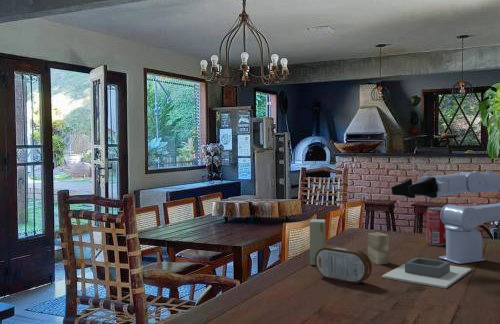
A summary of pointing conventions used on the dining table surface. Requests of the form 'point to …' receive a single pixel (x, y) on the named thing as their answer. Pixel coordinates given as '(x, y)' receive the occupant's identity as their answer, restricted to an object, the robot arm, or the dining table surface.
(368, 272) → the tin
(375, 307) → the dining table surface
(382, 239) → the birch peg
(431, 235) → the soda can
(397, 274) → the peg socket
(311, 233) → the skincare box
